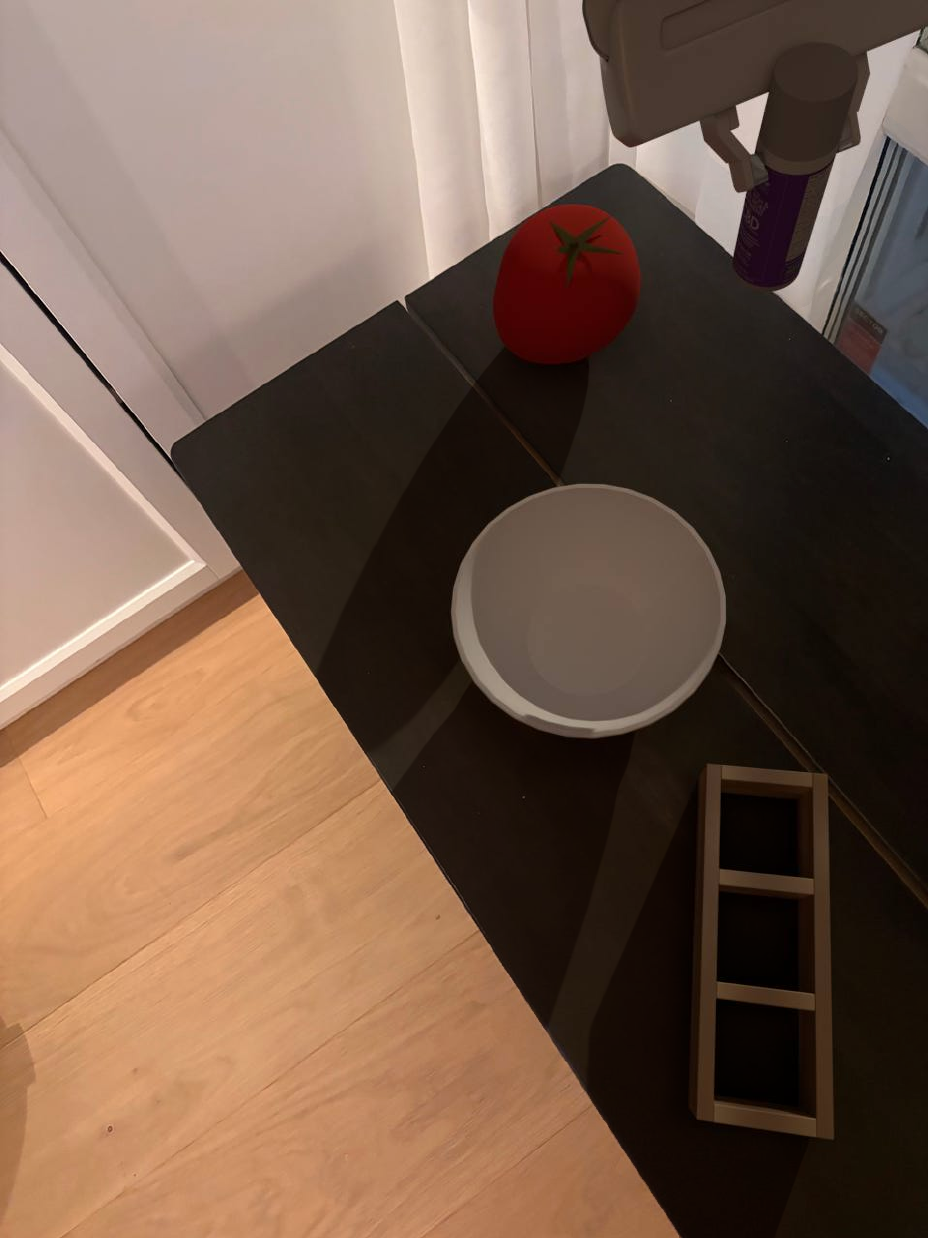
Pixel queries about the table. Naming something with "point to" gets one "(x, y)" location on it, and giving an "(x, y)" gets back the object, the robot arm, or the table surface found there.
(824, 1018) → the rack
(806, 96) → the container
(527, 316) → the tomato
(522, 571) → the bowl
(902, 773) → the table surface
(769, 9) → the robot arm
